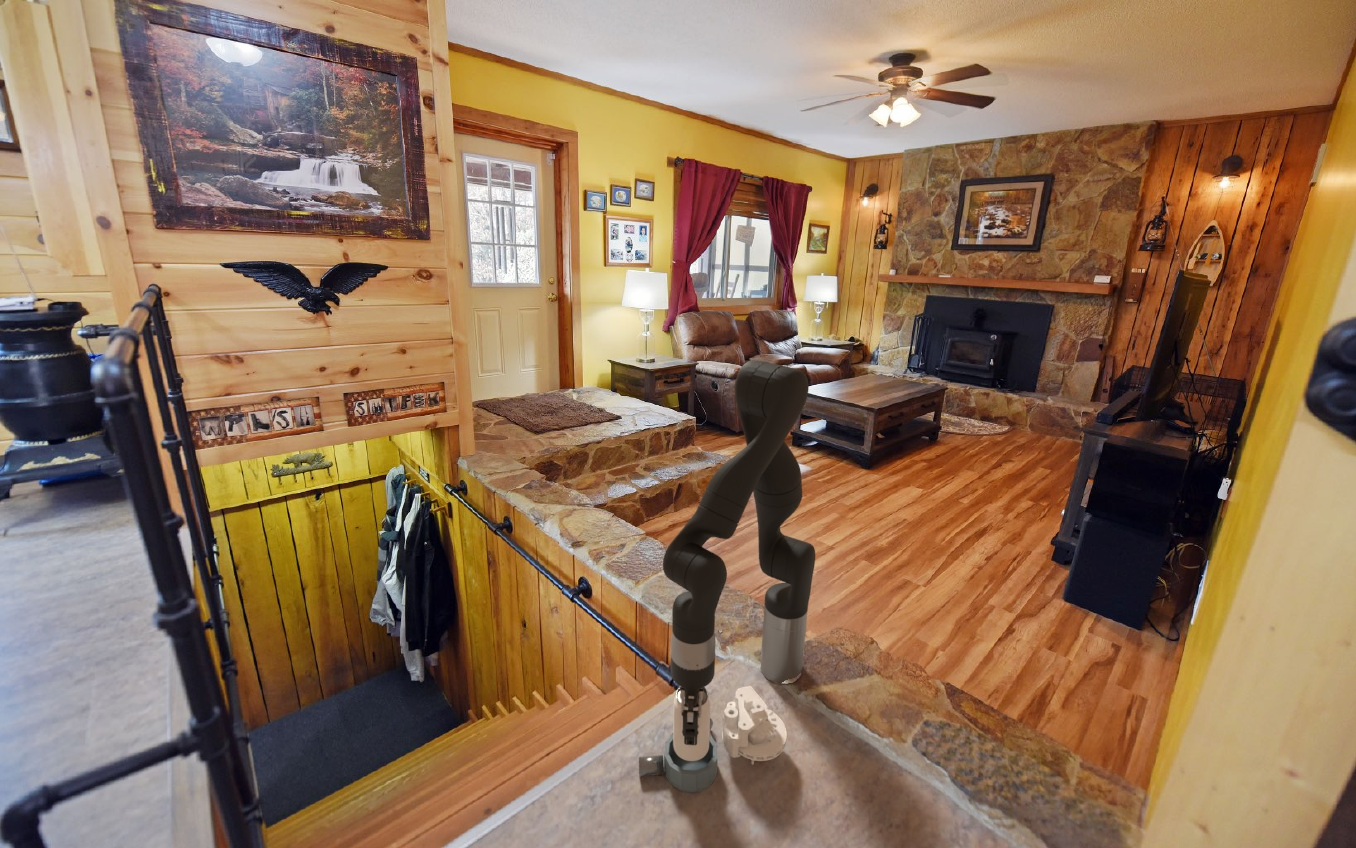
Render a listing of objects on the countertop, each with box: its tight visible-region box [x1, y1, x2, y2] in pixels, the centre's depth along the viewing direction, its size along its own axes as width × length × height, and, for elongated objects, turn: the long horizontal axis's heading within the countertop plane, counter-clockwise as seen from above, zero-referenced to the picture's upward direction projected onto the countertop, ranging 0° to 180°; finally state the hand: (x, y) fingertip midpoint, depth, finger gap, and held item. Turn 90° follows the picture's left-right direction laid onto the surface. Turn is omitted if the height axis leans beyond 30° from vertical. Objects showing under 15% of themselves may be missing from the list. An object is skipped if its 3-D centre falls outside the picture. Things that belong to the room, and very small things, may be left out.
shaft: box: [638, 754, 665, 777], centre depth 101 cm, size 4×3×3 cm
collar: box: [663, 732, 718, 794], centre depth 102 cm, size 10×10×4 cm
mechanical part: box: [721, 685, 788, 766], centre depth 104 cm, size 11×12×12 cm
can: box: [672, 686, 711, 761], centre depth 98 cm, size 6×6×12 cm
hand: (691, 727), depth 99 cm, fingers closed on can, 5 cm apart
